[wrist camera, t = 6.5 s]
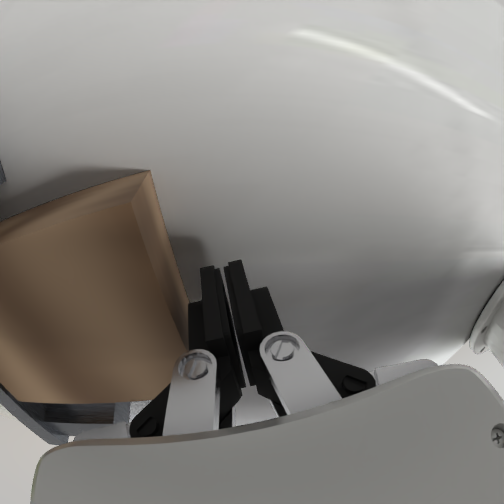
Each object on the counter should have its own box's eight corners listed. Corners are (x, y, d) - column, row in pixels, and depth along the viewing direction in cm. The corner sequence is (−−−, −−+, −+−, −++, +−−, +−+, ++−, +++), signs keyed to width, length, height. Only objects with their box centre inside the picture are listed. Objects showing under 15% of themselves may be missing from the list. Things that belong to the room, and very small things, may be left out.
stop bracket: (-9, 120, 7) (-60, 135, 4) (136, 407, 18) (134, 448, 15) (-82, 182, 7) (-118, 207, 4) (56, 409, 17) (49, 444, 14)
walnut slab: (151, 168, 11) (130, 202, 7) (201, 331, 15) (206, 392, 12) (-35, 237, 10) (-73, 277, 6) (35, 354, 14) (18, 401, 11)
